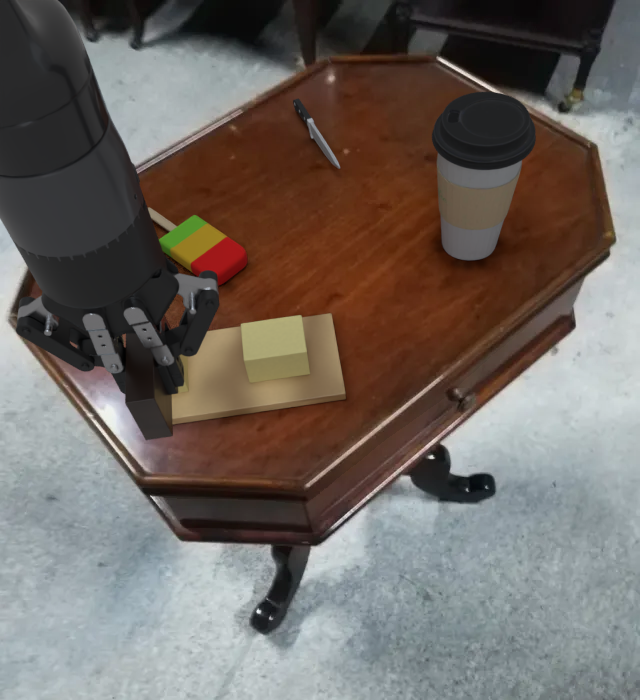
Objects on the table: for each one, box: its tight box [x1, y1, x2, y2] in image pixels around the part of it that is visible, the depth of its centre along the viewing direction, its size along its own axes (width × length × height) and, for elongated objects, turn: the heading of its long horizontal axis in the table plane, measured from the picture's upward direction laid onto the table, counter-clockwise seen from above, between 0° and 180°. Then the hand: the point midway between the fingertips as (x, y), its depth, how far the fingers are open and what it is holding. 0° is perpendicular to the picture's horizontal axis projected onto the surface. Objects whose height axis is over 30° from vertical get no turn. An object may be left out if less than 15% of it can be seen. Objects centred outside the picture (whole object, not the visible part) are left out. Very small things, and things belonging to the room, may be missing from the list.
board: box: [172, 312, 347, 425], centre depth 72 cm, size 18×10×1 cm, turn 97°
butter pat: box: [178, 354, 189, 393], centre depth 70 cm, size 2×4×4 cm, turn 7°
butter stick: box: [240, 314, 310, 383], centre depth 70 cm, size 6×4×4 cm
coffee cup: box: [431, 91, 537, 261], centre depth 73 cm, size 9×9×15 cm
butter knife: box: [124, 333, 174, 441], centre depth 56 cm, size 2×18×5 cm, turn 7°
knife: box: [292, 98, 341, 170], centre depth 90 cm, size 15×1×2 cm, turn 22°
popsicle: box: [148, 207, 249, 287], centre depth 82 cm, size 6×15×2 cm, turn 46°
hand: (156, 386), depth 55 cm, fingers closed on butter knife, 2 cm apart
